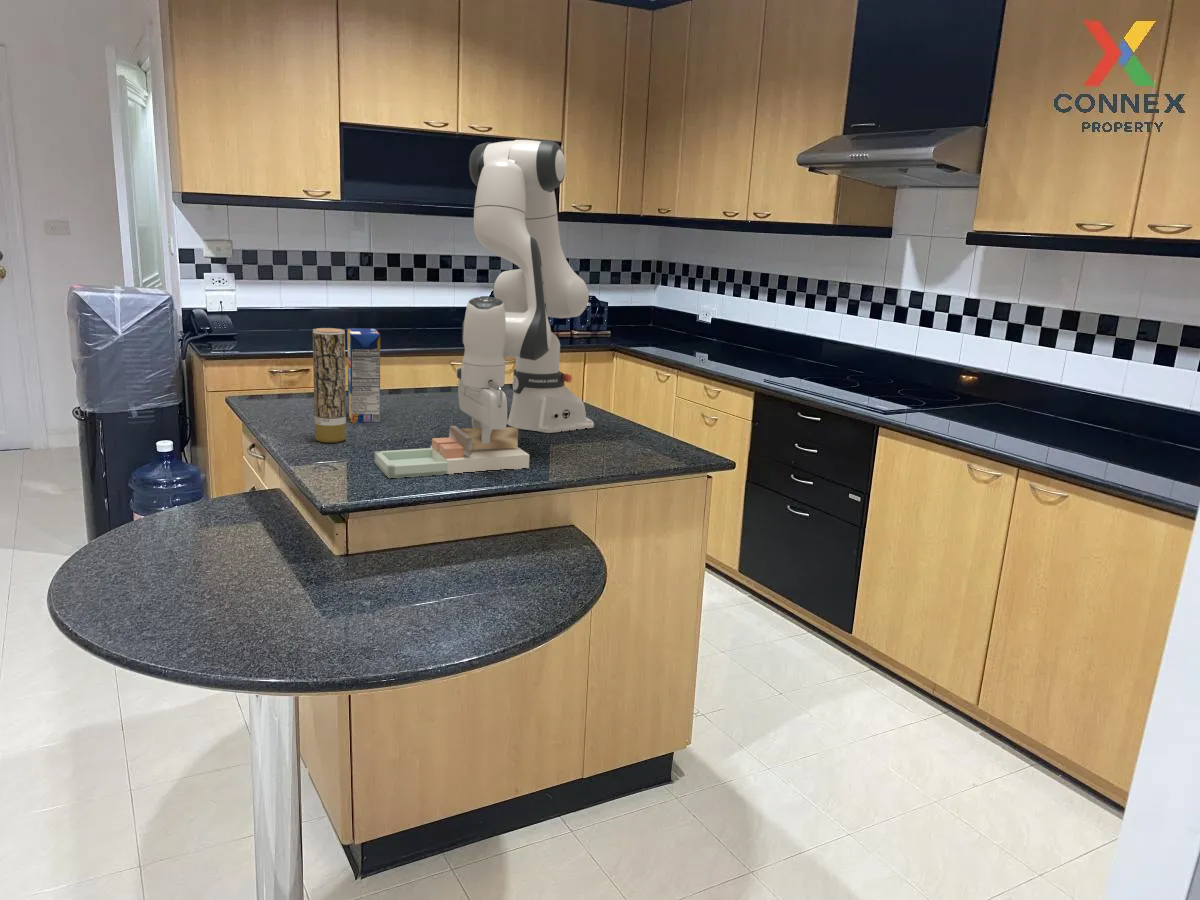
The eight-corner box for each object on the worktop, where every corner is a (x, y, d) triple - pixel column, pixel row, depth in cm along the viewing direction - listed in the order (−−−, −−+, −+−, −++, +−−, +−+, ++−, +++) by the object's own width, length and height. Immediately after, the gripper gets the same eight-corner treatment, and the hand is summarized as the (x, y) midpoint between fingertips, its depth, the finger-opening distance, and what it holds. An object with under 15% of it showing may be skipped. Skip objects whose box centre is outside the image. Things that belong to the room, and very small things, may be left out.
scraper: (506, 439, 198) (507, 422, 197) (525, 452, 189) (526, 434, 188) (448, 442, 192) (449, 424, 191) (465, 455, 182) (466, 436, 181)
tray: (430, 459, 192) (430, 448, 191) (447, 474, 181) (447, 462, 181) (374, 463, 186) (374, 451, 186) (388, 479, 176) (388, 466, 175)
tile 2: (457, 452, 187) (457, 443, 186) (463, 457, 184) (464, 447, 183) (439, 453, 185) (439, 444, 185) (445, 458, 182) (445, 449, 181)
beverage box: (351, 423, 218) (350, 334, 213) (348, 413, 228) (347, 328, 223) (380, 423, 221) (380, 334, 215) (375, 413, 231) (375, 328, 225)
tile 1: (449, 446, 191) (450, 437, 191) (455, 451, 188) (456, 441, 187) (431, 447, 190) (431, 438, 189) (437, 452, 186) (437, 443, 186)
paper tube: (337, 445, 198) (335, 333, 192) (309, 441, 199) (306, 330, 193) (351, 438, 204) (350, 329, 198) (324, 435, 206) (322, 327, 199)
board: (508, 454, 200) (508, 441, 199) (528, 468, 190) (529, 454, 189) (430, 459, 192) (430, 445, 191) (447, 474, 181) (447, 460, 181)
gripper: (516, 385, 178) (513, 451, 182) (481, 367, 196) (479, 428, 199) (486, 386, 175) (484, 453, 179) (453, 368, 193) (452, 430, 196)
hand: (481, 440), depth 189 cm, fingers closed on scraper, 2 cm apart
